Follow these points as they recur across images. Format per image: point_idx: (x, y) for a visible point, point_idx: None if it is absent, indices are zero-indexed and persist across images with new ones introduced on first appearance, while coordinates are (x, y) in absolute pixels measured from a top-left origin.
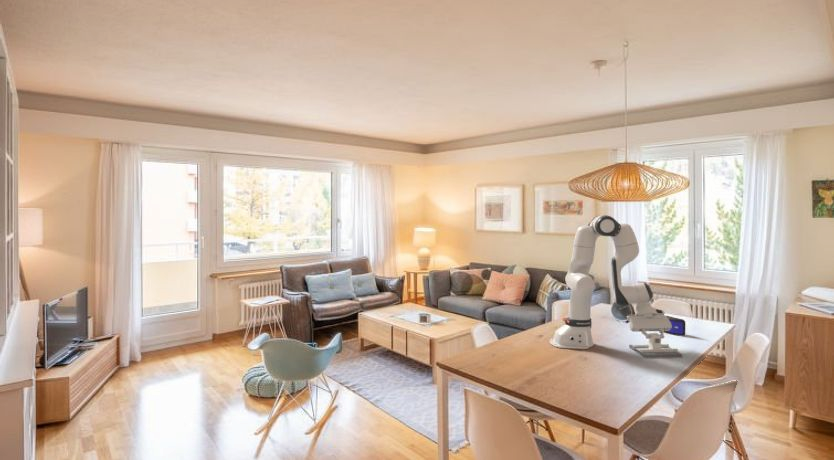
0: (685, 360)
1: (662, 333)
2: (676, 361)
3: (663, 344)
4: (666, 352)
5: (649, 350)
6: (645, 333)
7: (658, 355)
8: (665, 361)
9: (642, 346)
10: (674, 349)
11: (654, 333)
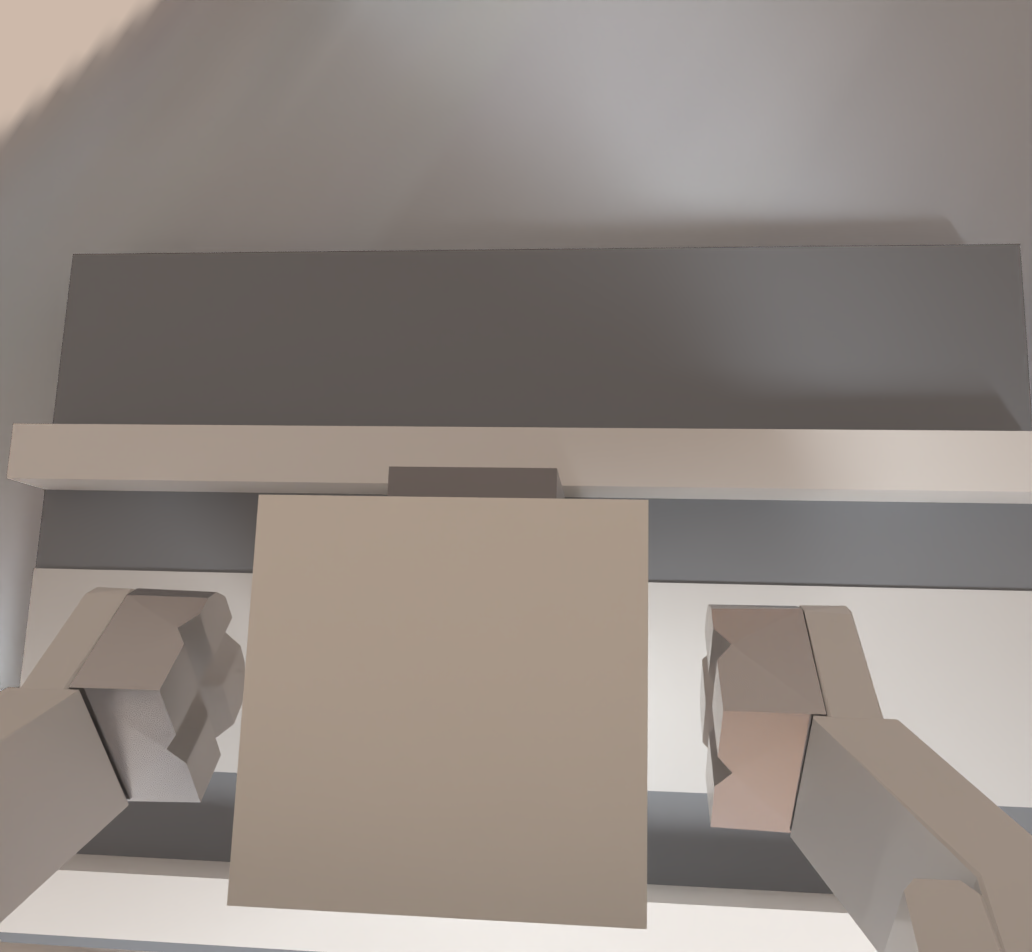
0: (193, 86)
1: (31, 705)
2: (416, 34)
3: (102, 892)
4: (369, 388)
5: (809, 434)
6: (939, 762)
7: (666, 256)
8: (649, 39)
9: (785, 898)
10: (102, 425)
11: (352, 878)
